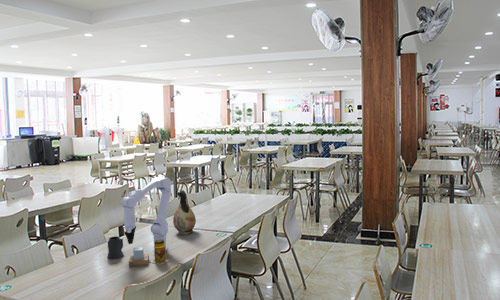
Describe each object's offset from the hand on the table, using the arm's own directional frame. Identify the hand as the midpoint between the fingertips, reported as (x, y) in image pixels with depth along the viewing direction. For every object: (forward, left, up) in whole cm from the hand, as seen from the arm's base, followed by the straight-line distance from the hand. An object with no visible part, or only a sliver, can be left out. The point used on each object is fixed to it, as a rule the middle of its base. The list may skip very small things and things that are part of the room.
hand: (131, 241), depth 233 cm
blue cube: (+7, +4, -7) cm, 11 cm away
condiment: (+8, +15, -11) cm, 20 cm away
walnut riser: (+7, +4, -10) cm, 13 cm away
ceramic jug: (-44, +31, -11) cm, 55 cm away
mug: (-9, -10, -11) cm, 17 cm away
